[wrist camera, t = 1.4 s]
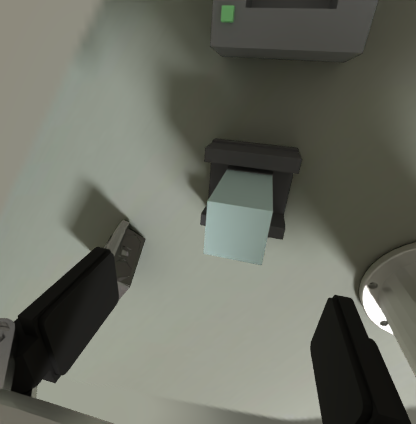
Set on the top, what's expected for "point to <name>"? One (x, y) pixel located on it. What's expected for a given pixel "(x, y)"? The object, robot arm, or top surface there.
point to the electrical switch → (125, 254)
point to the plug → (240, 215)
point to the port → (292, 28)
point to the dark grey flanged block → (262, 159)
